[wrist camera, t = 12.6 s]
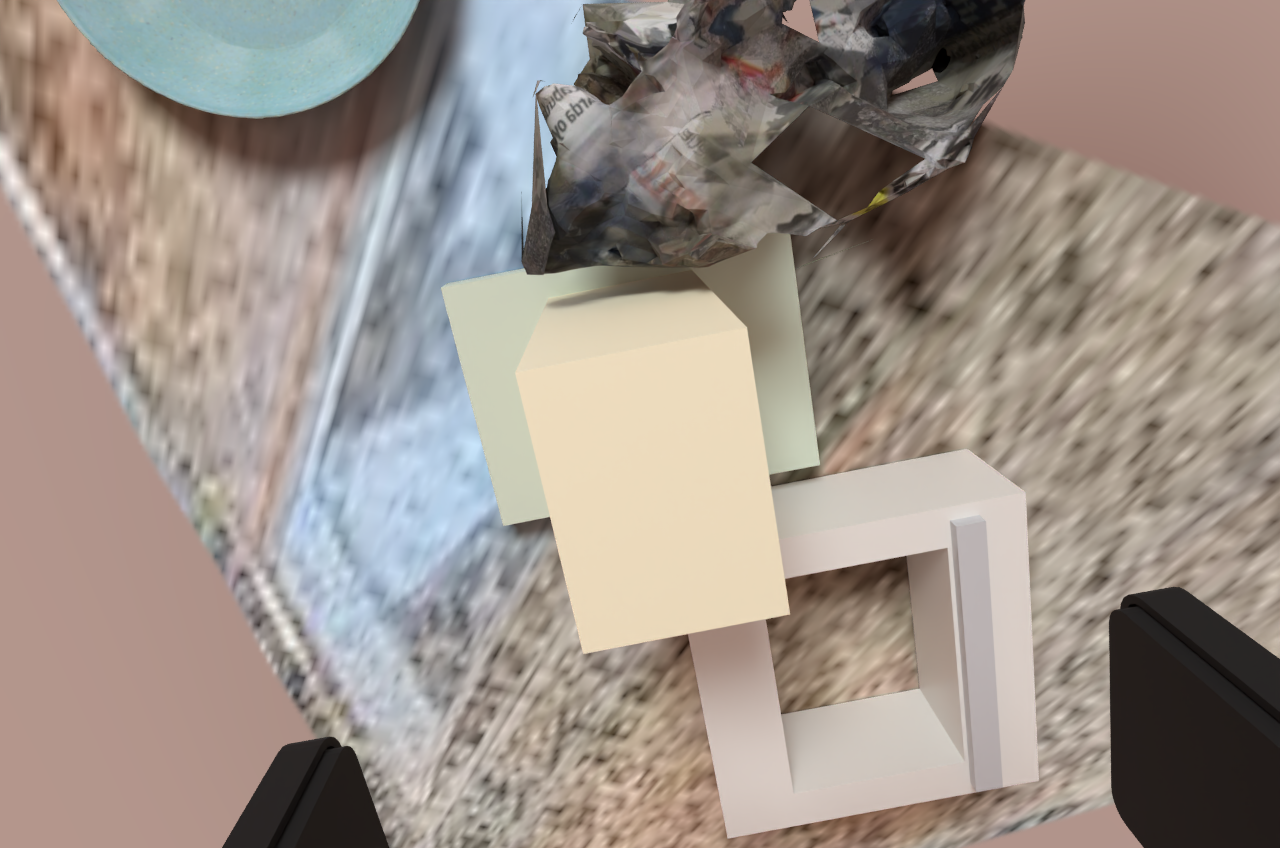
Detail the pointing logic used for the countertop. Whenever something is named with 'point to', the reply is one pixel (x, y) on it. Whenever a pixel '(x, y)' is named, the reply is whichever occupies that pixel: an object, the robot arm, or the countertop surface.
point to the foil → (745, 118)
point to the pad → (513, 301)
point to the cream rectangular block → (653, 461)
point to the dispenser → (944, 641)
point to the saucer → (244, 48)
